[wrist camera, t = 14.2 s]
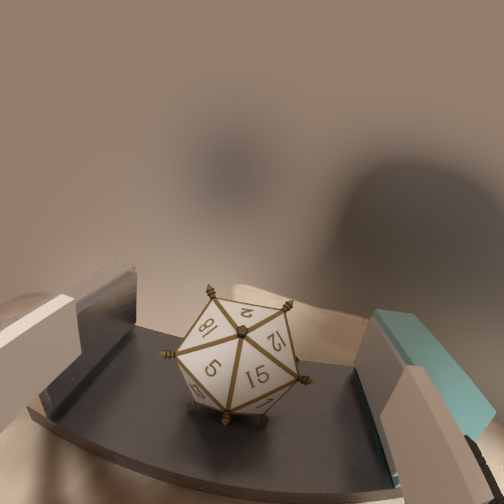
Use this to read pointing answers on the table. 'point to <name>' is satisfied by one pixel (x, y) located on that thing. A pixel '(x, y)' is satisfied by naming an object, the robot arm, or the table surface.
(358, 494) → the vise bed
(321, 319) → the table surface
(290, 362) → the game die
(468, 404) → the block
